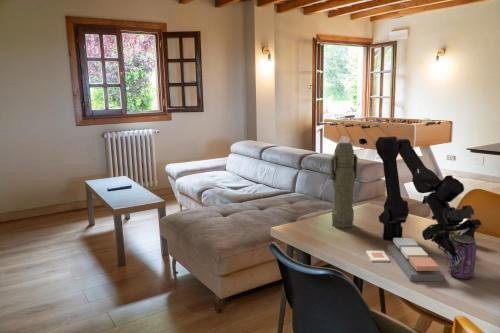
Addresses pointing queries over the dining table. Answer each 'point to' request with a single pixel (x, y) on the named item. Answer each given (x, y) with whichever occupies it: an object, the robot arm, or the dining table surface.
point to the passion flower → (450, 239)
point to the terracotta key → (423, 264)
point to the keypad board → (410, 270)
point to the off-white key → (413, 252)
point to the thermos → (343, 185)
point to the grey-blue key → (404, 242)
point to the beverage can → (463, 257)
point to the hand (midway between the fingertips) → (465, 254)
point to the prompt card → (378, 256)
